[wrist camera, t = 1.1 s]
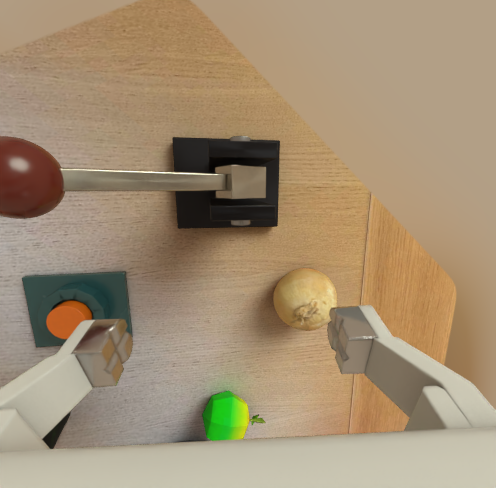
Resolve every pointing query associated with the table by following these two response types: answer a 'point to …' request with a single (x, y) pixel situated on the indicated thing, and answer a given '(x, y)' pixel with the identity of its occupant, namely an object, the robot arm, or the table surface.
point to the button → (67, 318)
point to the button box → (75, 299)
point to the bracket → (205, 202)
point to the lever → (103, 180)
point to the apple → (227, 417)
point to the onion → (305, 299)
